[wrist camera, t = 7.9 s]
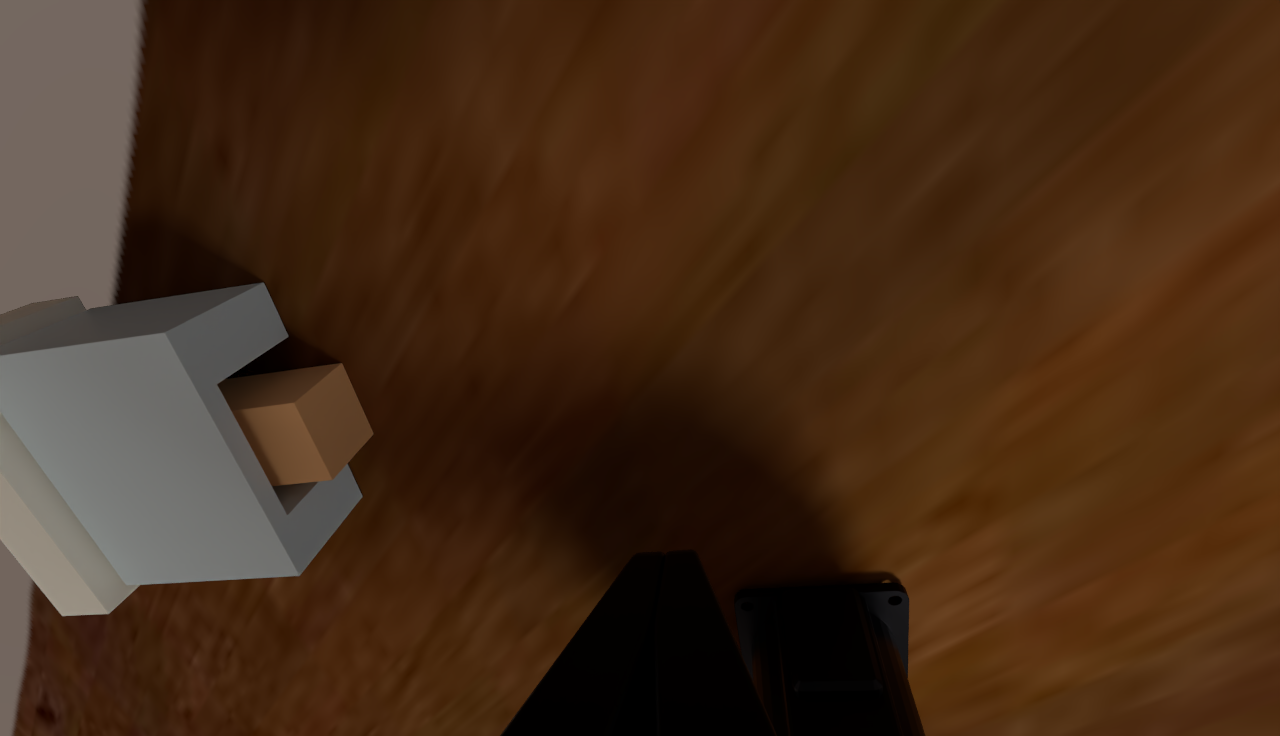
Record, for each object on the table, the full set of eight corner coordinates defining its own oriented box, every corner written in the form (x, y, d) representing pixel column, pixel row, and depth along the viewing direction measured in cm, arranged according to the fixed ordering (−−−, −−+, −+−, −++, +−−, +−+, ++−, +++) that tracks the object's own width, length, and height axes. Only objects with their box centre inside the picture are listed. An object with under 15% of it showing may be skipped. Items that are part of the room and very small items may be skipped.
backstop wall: (212, 518, 26) (109, 613, 22) (171, 521, 26) (62, 615, 22) (77, 296, 22) (-86, 358, 17) (31, 303, 22) (-141, 366, 18)
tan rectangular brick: (375, 431, 23) (332, 479, 21) (239, 447, 24) (181, 495, 22) (344, 360, 22) (294, 403, 19) (202, 380, 23) (134, 423, 20)
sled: (362, 496, 24) (299, 575, 21) (211, 508, 26) (126, 585, 22) (263, 282, 21) (164, 332, 17) (91, 308, 22) (-37, 360, 18)
